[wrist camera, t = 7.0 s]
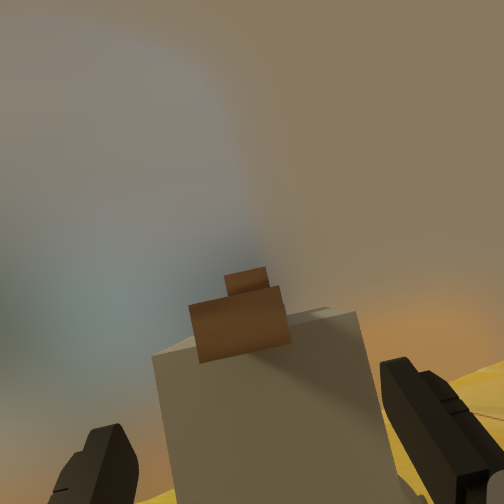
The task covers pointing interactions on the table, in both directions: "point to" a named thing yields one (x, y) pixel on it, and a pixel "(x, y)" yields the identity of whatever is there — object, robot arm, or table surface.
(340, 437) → the pedestal
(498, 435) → the table surface
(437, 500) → the robot arm
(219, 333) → the brown wooden bar
